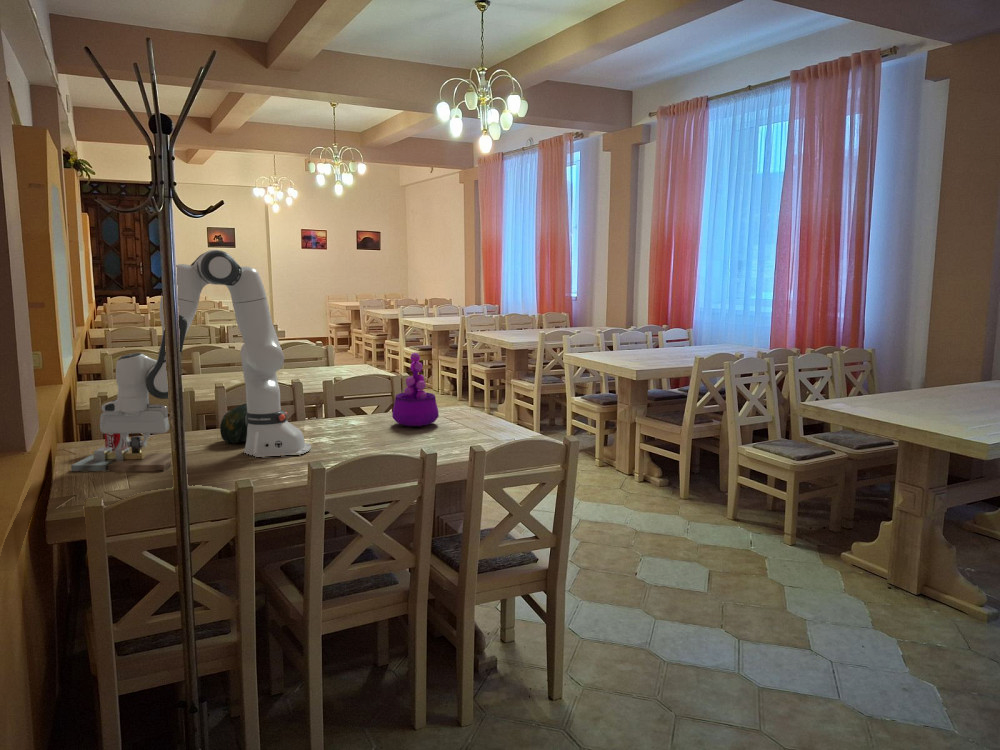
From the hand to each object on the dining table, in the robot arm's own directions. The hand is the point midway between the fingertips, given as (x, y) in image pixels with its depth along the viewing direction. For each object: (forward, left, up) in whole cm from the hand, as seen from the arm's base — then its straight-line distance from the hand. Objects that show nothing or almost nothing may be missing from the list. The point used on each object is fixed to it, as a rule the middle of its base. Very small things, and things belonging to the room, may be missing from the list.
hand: (136, 446), depth 227 cm
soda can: (+14, -17, -6) cm, 23 cm away
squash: (-24, -31, -6) cm, 40 cm away
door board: (+3, 0, -6) cm, 7 cm away
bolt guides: (+8, 0, -4) cm, 9 cm away
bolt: (+6, 0, -4) cm, 7 cm away
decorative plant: (-86, -57, -6) cm, 103 cm away
